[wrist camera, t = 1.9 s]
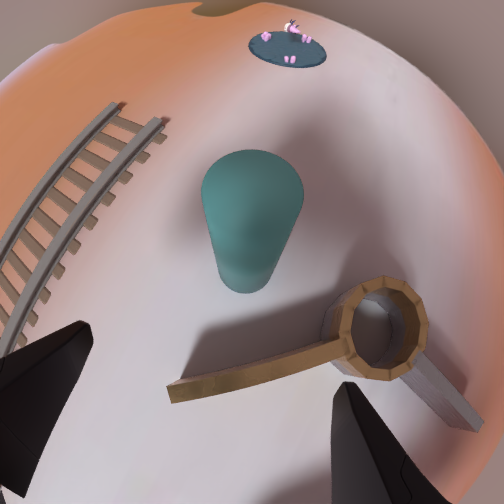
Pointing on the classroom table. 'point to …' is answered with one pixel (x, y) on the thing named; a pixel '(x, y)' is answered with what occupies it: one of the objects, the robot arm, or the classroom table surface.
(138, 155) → the model train track
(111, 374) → the classroom table surface
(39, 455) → the robot arm
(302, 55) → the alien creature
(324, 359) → the bronze hinge leaf
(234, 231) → the teal hinge pin
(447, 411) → the steel hinge leaf
